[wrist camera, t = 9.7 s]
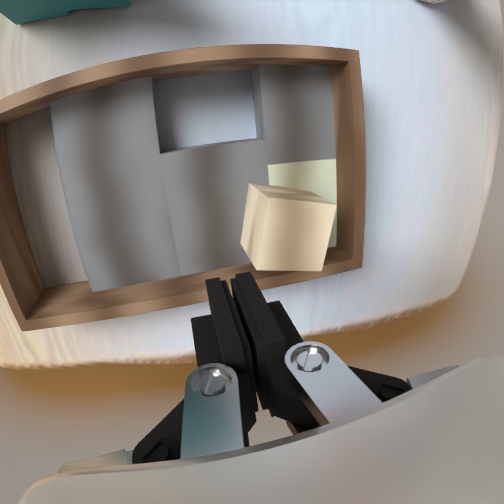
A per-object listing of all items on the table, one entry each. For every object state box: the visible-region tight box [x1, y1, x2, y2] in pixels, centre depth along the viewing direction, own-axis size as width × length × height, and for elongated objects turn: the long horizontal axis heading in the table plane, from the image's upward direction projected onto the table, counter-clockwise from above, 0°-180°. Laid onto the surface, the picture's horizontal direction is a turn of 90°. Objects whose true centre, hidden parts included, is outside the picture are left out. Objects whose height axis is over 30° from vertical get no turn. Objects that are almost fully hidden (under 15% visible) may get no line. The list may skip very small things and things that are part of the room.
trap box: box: [0, 44, 365, 331], centre depth 22 cm, size 30×18×6 cm, turn 95°
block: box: [241, 183, 337, 271], centre depth 23 cm, size 5×5×5 cm
